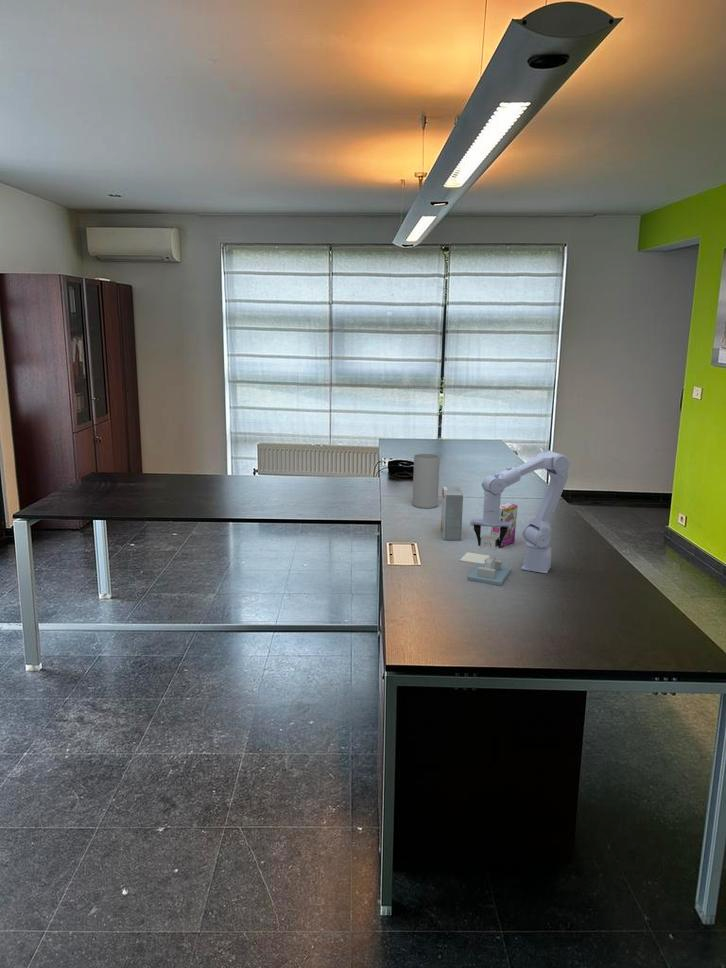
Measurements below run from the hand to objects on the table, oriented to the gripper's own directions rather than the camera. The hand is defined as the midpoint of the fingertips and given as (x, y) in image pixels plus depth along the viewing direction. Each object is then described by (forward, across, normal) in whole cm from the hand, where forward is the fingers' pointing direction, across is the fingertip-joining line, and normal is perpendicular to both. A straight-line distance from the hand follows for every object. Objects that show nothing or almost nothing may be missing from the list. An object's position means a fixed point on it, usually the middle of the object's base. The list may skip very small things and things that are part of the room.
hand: (489, 546), depth 243 cm
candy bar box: (+11, -5, -36) cm, 38 cm away
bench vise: (+10, -1, +2) cm, 11 cm away
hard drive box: (+11, +17, -43) cm, 47 cm away
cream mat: (+10, +5, -14) cm, 18 cm away
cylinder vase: (+11, +34, -88) cm, 95 cm away
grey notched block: (0, 0, 0) cm, 0 cm away
